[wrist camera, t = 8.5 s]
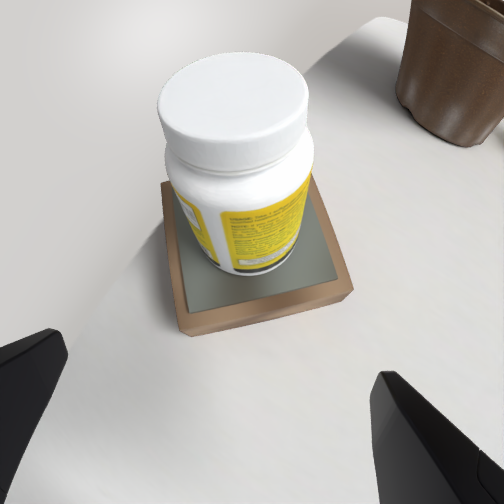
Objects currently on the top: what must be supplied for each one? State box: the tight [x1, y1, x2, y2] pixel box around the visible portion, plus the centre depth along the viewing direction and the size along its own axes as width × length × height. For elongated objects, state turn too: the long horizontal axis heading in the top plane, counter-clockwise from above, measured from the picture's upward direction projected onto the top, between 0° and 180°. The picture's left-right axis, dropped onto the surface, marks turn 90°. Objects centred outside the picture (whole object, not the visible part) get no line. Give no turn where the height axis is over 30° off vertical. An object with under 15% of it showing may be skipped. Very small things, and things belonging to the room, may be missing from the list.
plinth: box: [161, 173, 354, 337], centre depth 20 cm, size 10×10×3 cm
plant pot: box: [396, 0, 504, 147], centre depth 19 cm, size 16×16×16 cm
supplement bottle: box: [157, 52, 314, 276], centre depth 13 cm, size 6×6×10 cm
